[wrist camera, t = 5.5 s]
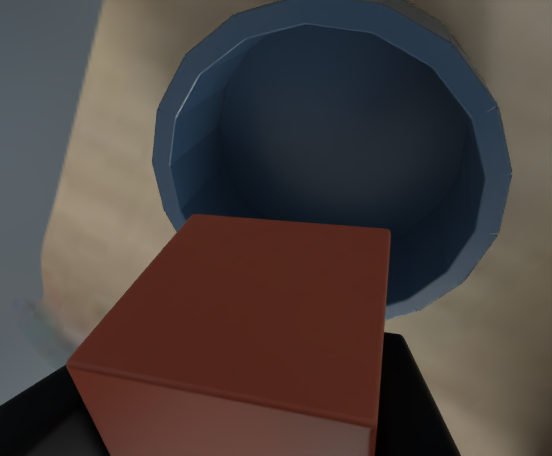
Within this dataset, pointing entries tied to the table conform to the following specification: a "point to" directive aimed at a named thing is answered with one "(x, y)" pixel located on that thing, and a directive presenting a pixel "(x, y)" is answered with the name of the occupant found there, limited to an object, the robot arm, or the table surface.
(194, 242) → the block
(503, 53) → the table surface
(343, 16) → the tin
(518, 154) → the table surface
